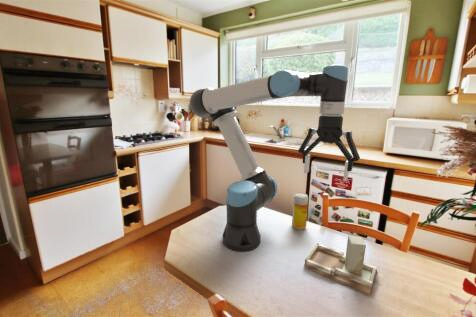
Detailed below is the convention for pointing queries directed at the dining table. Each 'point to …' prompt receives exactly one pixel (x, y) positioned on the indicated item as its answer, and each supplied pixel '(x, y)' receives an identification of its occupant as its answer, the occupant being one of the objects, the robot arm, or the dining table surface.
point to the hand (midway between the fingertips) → (325, 176)
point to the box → (355, 255)
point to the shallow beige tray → (339, 268)
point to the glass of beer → (300, 210)
